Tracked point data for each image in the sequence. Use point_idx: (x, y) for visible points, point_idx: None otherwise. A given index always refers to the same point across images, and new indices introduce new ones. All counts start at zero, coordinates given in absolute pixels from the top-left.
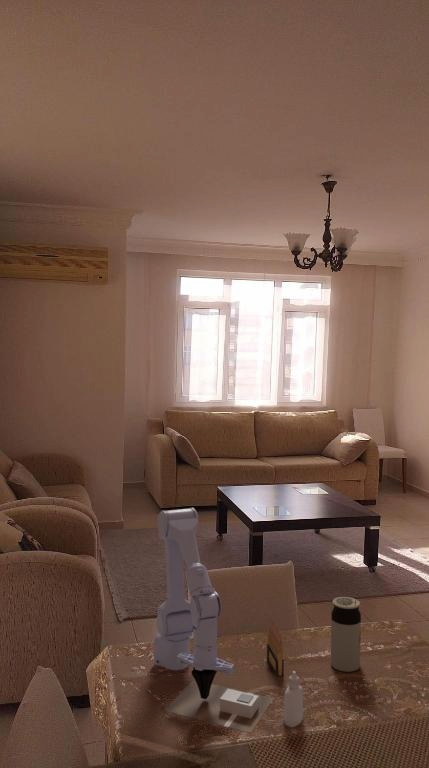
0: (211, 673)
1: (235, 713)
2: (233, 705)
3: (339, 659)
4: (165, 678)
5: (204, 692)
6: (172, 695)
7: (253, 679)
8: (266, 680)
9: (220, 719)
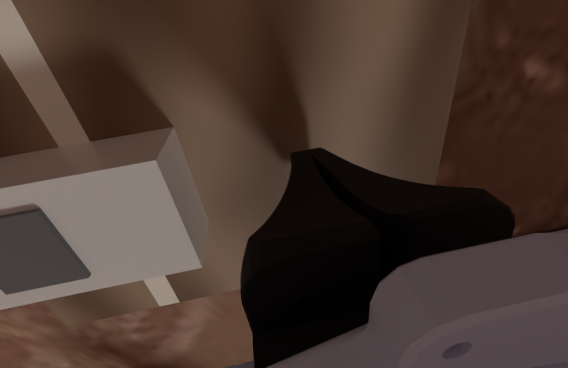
0: (257, 311)
1: (66, 148)
2: (54, 167)
3: None
4: (525, 208)
5: (302, 164)
6: (471, 128)
7: (240, 348)
8: (202, 363)
9: (91, 42)
